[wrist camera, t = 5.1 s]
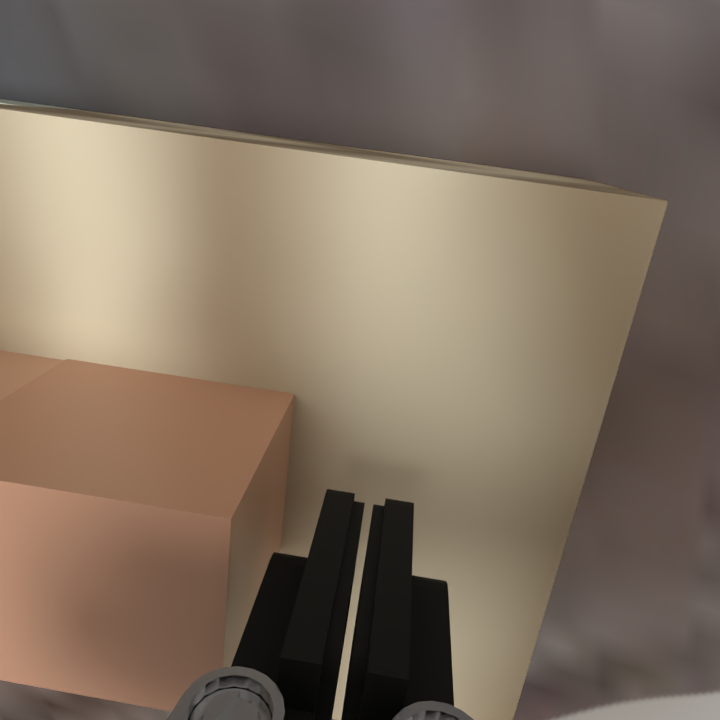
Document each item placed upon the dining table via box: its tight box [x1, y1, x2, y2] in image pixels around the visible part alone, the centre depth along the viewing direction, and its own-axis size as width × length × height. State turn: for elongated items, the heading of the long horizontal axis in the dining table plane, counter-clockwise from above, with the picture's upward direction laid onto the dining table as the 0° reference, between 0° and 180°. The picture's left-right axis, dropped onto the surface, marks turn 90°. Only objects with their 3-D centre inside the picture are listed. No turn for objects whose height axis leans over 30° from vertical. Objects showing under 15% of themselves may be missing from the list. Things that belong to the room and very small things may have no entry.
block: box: [0, 359, 295, 711], centre depth 12 cm, size 5×4×4 cm
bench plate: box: [0, 104, 668, 720], centre depth 16 cm, size 14×14×6 cm
